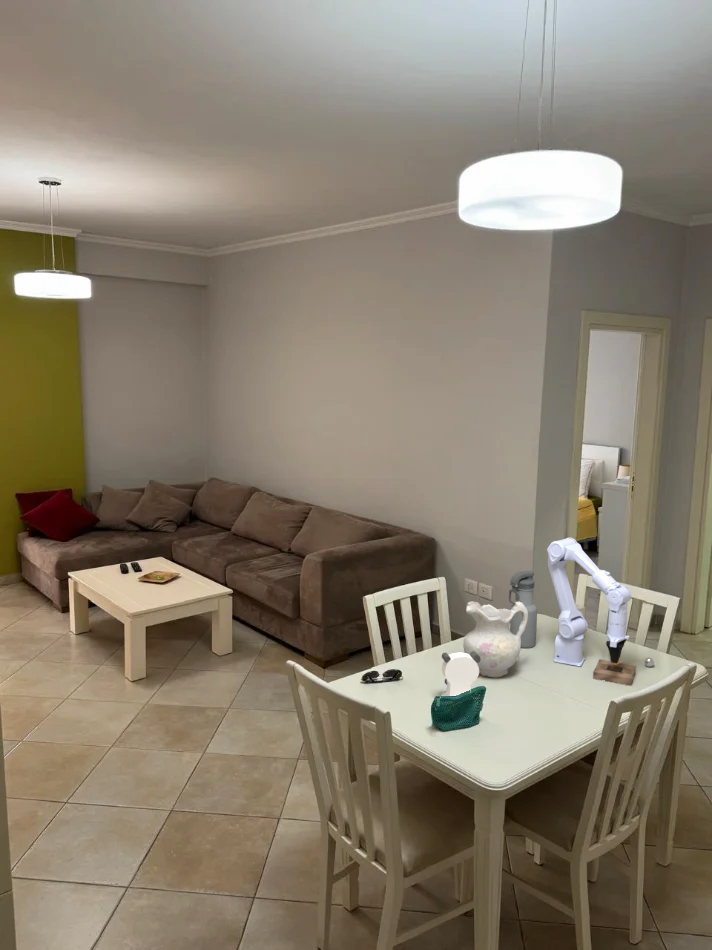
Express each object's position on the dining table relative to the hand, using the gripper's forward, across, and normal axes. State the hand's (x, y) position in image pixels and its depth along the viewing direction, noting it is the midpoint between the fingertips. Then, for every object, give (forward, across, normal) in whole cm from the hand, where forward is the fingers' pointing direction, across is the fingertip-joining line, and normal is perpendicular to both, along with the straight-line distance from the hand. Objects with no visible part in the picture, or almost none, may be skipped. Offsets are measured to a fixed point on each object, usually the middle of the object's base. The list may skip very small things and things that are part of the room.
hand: (615, 660), depth 247 cm
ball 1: (0, 0, 0) cm, 0 cm away
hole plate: (+5, 0, 0) cm, 5 cm away
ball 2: (+4, +14, -10) cm, 17 cm away
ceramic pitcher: (+6, -15, +38) cm, 41 cm away
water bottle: (+6, +14, +36) cm, 39 cm away
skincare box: (+6, +32, +20) cm, 38 cm away
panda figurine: (+6, -42, +40) cm, 59 cm away
